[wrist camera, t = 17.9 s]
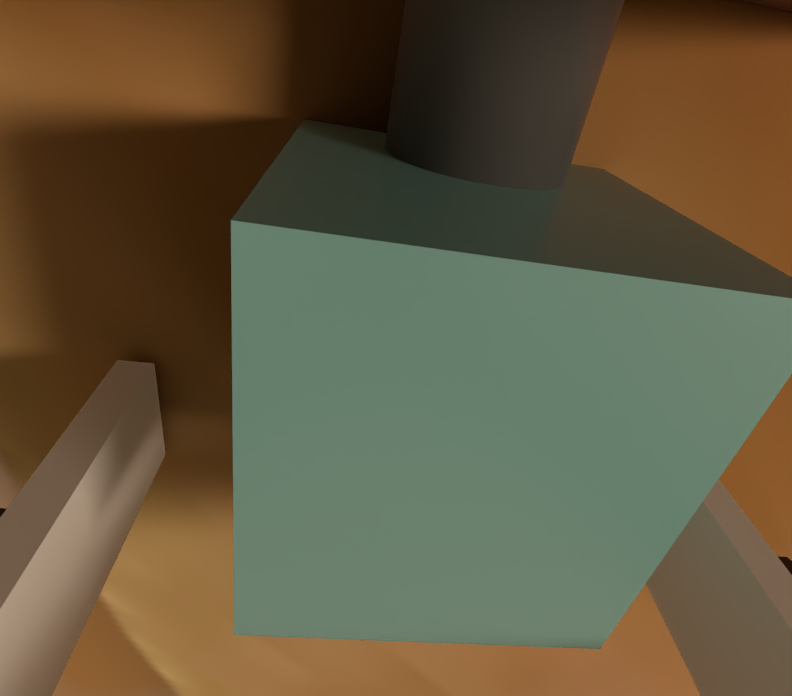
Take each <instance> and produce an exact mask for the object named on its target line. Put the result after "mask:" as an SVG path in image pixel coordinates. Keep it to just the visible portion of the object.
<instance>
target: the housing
mask: <svg viewBox="0 0 792 696" xmlns="http://www.w3.org/2000/svg"><path fill="white" fill-rule="evenodd" d="M739 1H744V2H749V3H753V4H758V5H762V6H767V7H772V8H776V9H781V10H786V11H790V12H792V0H739Z"/></svg>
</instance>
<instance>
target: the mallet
mask: <svg viewBox="0 0 792 696" xmlns="http://www.w3.org/2000/svg"><path fill="white" fill-rule="evenodd" d="M624 1H625V0H405V7H404V14H403V21H402V28H401V35H400V42H399V49H398V56H397V63H396V70H395V77H394V84H393V91H392V98H391V105H390V112H389V119H388V126H387V133H384V132H378V131H372V130H366V129H360V128H354V127H348V126H342V125H336V124H330V123H324V122H318V121H312V120H306V119H304V120H303V122H302V123H301V124H300V126H299V127H298V128H297V130H296V131H295V133H294V134H293V135H292V137H291V138H290V139H289V141H288V142H287V144H286V145H285V146H284V148H283V149H282V150H281V152H280V153H279V155H278V156H277V157H276V159H275V160H274V161H273V163H272V164H271V166H270V167H269V168H268V170H267V171H266V172H265V174H264V175H263V177H262V178H261V179H260V181H259V182H258V183H257V185H256V186H255V188H254V189H253V190H252V192H251V193H250V194H249V196H248V197H247V199H246V200H245V201H244V203H243V204H242V205H241V207H240V208H239V210H238V211H237V212H236V214H235V215H234V216H233V218H232V219H231V304H232V420H233V536H234V635H246V636H273V637H299V638H325V639H351V640H378V641H404V642H430V643H457V644H483V645H509V646H535V647H562V648H588V649H600V648H601V647H602V645H603V644H604V642H605V641H606V640H607V638H608V637H609V635H610V634H611V632H612V631H613V629H614V628H615V627H616V625H617V624H618V622H619V621H620V619H621V618H622V617H623V615H624V614H625V612H626V611H627V609H628V608H629V607H630V605H631V604H632V602H633V601H634V599H635V598H636V596H637V595H638V594H639V592H640V591H641V589H642V588H643V586H644V585H645V584H646V582H647V581H648V579H649V578H650V576H651V575H652V574H653V572H654V571H655V569H656V568H657V566H658V565H659V564H660V562H661V561H662V559H663V558H664V556H665V555H666V553H667V552H668V551H669V549H670V548H671V546H672V545H673V543H674V542H675V541H676V539H677V538H678V536H679V535H680V533H681V532H682V531H683V529H684V528H685V526H686V525H687V523H688V522H689V520H690V519H691V518H692V516H693V515H694V513H695V512H696V510H697V509H698V508H699V506H700V505H701V503H702V502H703V500H704V499H705V498H706V496H707V495H708V493H709V492H710V490H711V489H712V487H713V486H714V485H715V483H716V482H717V480H718V479H719V477H720V476H721V475H722V473H723V472H724V470H725V469H726V467H727V466H728V465H729V463H730V462H731V460H732V459H733V457H734V456H735V454H736V453H737V452H738V450H739V449H740V447H741V446H742V444H743V443H744V442H745V440H746V439H747V437H748V436H749V434H750V433H751V432H752V430H753V429H754V427H755V426H756V424H757V423H758V422H759V420H760V419H761V417H762V416H763V414H764V413H765V411H766V410H767V409H768V407H769V406H770V404H771V403H772V401H773V400H774V399H775V397H776V396H777V394H778V393H779V391H780V390H781V389H782V387H783V386H784V384H785V383H786V381H787V380H788V378H789V377H790V376H791V374H792V277H790V276H788V275H786V274H785V273H783V272H781V271H779V270H778V269H776V268H774V267H772V266H771V265H769V264H767V263H765V262H764V261H762V260H760V259H759V258H757V257H755V256H753V255H752V254H750V253H748V252H746V251H745V250H743V249H741V248H739V247H738V246H736V245H734V244H732V243H731V242H729V241H727V240H726V239H724V238H722V237H720V236H719V235H717V234H715V233H713V232H712V231H710V230H708V229H706V228H705V227H703V226H701V225H699V224H698V223H696V222H694V221H693V220H691V219H689V218H687V217H686V216H684V215H682V214H680V213H679V212H677V211H675V210H673V209H672V208H670V207H668V206H666V205H665V204H663V203H661V202H660V201H658V200H656V199H654V198H653V197H651V196H649V195H647V194H646V193H644V192H642V191H640V190H639V189H637V188H635V187H633V186H632V185H630V184H628V183H627V182H625V181H623V180H621V179H620V178H618V177H616V176H614V175H613V174H611V173H609V172H607V171H606V170H604V169H598V168H592V167H586V166H580V165H574V164H571V161H572V158H573V155H574V152H575V149H576V146H577V143H578V140H579V137H580V134H581V131H582V128H583V125H584V122H585V119H586V116H587V113H588V110H589V107H590V104H591V101H592V98H593V95H594V92H595V89H596V86H597V83H598V80H599V77H600V74H601V71H602V68H603V65H604V62H605V59H606V56H607V53H608V50H609V47H610V44H611V41H612V38H613V35H614V32H615V28H616V25H617V22H618V19H619V16H620V13H621V10H622V7H623V4H624Z"/></svg>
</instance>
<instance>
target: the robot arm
mask: <svg viewBox="0 0 792 696" xmlns="http://www.w3.org/2000/svg"><path fill="white" fill-rule="evenodd" d="M165 455H166V453H165V445H164V437H163V429H162V421H161V413H160V404H159V396H158V388H157V380H156V372H155V364H154V363H144V362H134V361H124V360H117V361H116V362H115V364H114V365H113V367H112V368H111V369H110V371H109V372H108V373H107V375H106V376H105V377H104V379H103V380H102V381H101V383H100V384H99V385H98V387H97V388H96V389H95V391H94V392H93V393H92V395H91V396H90V397H89V399H88V400H87V401H86V403H85V404H84V406H83V407H82V408H81V410H80V411H79V412H78V414H77V415H76V416H75V418H74V419H73V420H72V422H71V423H70V424H69V426H68V427H67V428H66V430H65V431H64V432H63V434H62V435H61V436H60V438H59V439H58V440H57V442H56V443H55V445H54V446H53V447H52V449H51V450H50V451H49V453H48V454H47V455H46V457H45V458H44V459H43V461H42V462H41V463H40V465H39V466H38V467H37V469H36V470H35V471H34V473H33V474H32V475H31V477H30V478H29V479H28V481H27V482H26V483H25V485H24V486H23V488H22V489H21V490H20V492H19V493H18V494H17V496H16V497H15V498H14V500H13V501H12V502H11V504H10V505H9V507H8V508H7V509H3V508H0V696H52V694H53V692H54V690H55V688H56V686H57V684H58V681H59V680H60V677H61V675H62V673H63V671H64V669H65V667H66V665H67V663H68V660H69V658H70V656H71V654H72V652H73V650H74V648H75V646H76V643H77V641H78V639H79V637H80V635H81V633H82V631H83V629H84V626H85V624H86V622H87V620H88V618H89V616H90V614H91V611H92V609H93V607H94V605H95V603H96V601H97V599H98V597H99V595H100V593H101V590H102V588H103V586H104V584H105V582H106V580H107V578H108V576H109V573H110V571H111V569H112V567H113V565H114V563H115V561H116V559H117V556H118V554H119V552H120V550H121V548H122V546H123V544H124V542H125V540H126V537H127V535H128V533H129V531H130V529H131V527H132V525H133V523H134V520H135V518H136V516H137V514H138V512H139V510H140V508H141V506H142V503H143V501H144V499H145V497H146V495H147V493H148V491H149V489H150V486H151V484H152V482H153V480H154V478H155V476H156V474H157V472H158V469H159V467H160V465H161V463H162V461H163V459H164V457H165ZM646 584H647V586H648V589H649V591H650V593H651V595H652V597H653V599H654V601H655V603H656V605H657V607H658V609H659V611H660V613H661V615H662V617H663V619H664V621H665V623H666V625H667V627H668V629H669V631H670V633H671V636H672V638H673V640H674V642H675V644H676V646H677V648H678V650H679V652H680V654H681V656H682V658H683V660H684V662H685V664H686V666H687V668H688V670H689V672H690V674H691V676H692V678H693V680H694V682H695V685H696V687H697V689H698V691H699V693H700V695H701V696H792V561H791V560H790V559H788V558H787V557H778V556H777V555H776V554H775V552H774V551H773V550H772V548H771V547H770V546H769V545H768V543H767V542H766V541H765V539H764V538H763V537H762V535H761V534H760V533H759V531H758V530H757V529H756V527H755V526H754V525H753V523H752V522H751V521H750V519H749V518H748V517H747V516H746V514H745V513H744V512H743V510H742V509H741V508H740V506H739V505H738V504H737V502H736V501H735V500H734V498H733V497H732V496H731V494H730V493H729V492H728V491H727V489H726V488H725V487H724V485H723V484H722V483H721V481H720V480H719V479H718V480H717V482H716V483H715V485H714V486H713V487H712V489H711V490H710V492H709V493H708V495H707V496H706V498H705V499H704V500H703V502H702V503H701V505H700V506H699V508H698V509H697V510H696V512H695V513H694V515H693V516H692V518H691V519H690V520H689V522H688V523H687V525H686V526H685V528H684V529H683V531H682V532H681V533H680V535H679V536H678V538H677V539H676V541H675V542H674V543H673V545H672V546H671V548H670V549H669V551H668V552H667V553H666V555H665V556H664V558H663V559H662V561H661V562H660V564H659V565H658V566H657V568H656V569H655V571H654V572H653V574H652V575H651V576H650V578H649V579H648V581H647V582H646Z"/></svg>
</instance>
